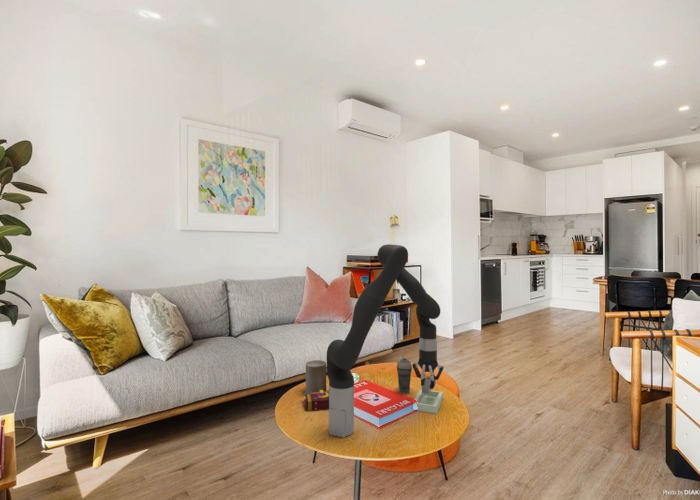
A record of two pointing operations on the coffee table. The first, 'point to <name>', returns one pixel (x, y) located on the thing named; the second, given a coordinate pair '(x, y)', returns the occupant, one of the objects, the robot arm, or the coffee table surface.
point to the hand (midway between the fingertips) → (427, 387)
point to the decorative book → (316, 400)
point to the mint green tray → (429, 401)
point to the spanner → (427, 385)
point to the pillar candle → (316, 375)
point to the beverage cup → (404, 374)
